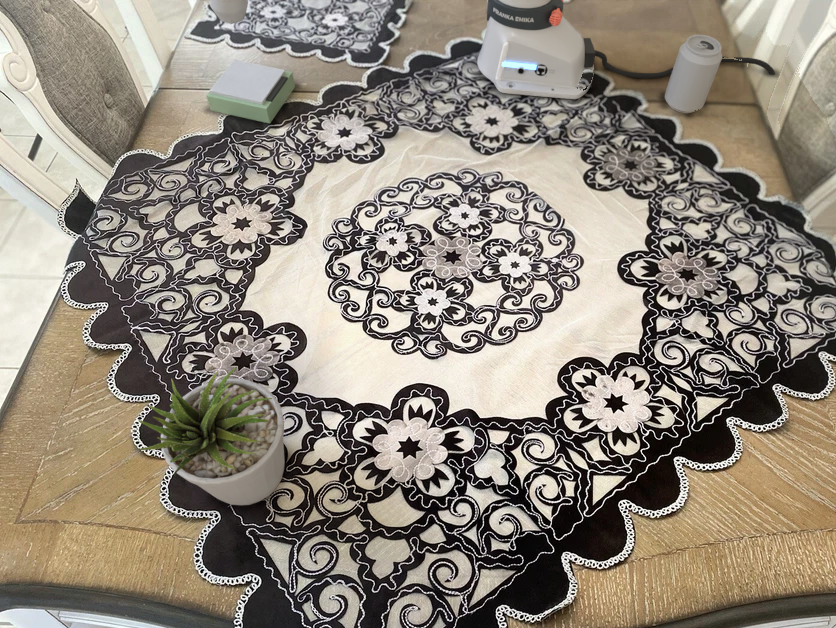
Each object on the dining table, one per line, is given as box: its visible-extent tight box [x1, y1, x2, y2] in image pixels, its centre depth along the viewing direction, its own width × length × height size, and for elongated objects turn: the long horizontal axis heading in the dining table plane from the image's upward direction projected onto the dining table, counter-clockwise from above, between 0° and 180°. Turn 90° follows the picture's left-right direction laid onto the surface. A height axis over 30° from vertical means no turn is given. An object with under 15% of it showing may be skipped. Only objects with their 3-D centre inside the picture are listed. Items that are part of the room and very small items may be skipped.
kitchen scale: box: [206, 58, 296, 124], centre depth 118 cm, size 11×11×4 cm
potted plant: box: [138, 366, 286, 506], centre depth 73 cm, size 13×14×20 cm
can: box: [664, 34, 723, 114], centre depth 122 cm, size 8×8×12 cm
